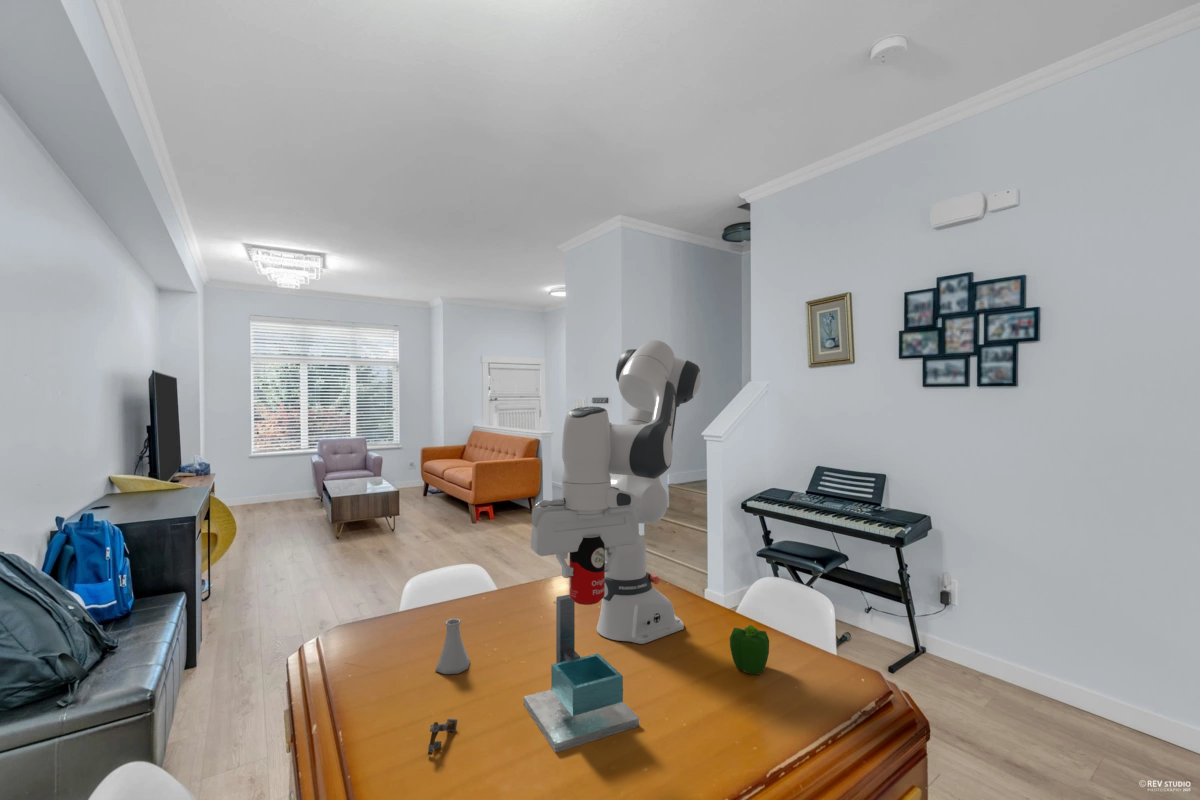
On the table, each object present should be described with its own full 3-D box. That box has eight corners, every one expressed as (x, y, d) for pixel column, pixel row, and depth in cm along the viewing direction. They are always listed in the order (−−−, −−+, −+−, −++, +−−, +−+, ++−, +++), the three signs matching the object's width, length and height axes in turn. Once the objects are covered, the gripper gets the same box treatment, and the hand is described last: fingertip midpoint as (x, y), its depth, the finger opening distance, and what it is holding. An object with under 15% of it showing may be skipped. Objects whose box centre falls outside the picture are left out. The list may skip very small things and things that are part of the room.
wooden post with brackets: (421, 755, 85) (427, 722, 87) (443, 747, 92) (448, 717, 94) (431, 756, 85) (437, 723, 87) (452, 748, 92) (457, 718, 94)
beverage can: (569, 607, 92) (570, 537, 92) (569, 594, 98) (569, 529, 98) (606, 606, 92) (606, 537, 93) (603, 593, 99) (603, 528, 99)
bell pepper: (731, 657, 120) (731, 613, 120) (769, 663, 117) (769, 617, 117) (727, 675, 112) (727, 627, 112) (768, 681, 109) (768, 632, 110)
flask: (460, 677, 111) (460, 629, 112) (429, 673, 113) (429, 626, 113) (475, 661, 118) (475, 616, 119) (446, 658, 120) (446, 613, 120)
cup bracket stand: (598, 684, 108) (598, 588, 109) (639, 726, 94) (638, 615, 94) (523, 704, 101) (523, 601, 101) (555, 752, 87) (555, 632, 87)
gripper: (538, 504, 88) (537, 588, 88) (643, 495, 97) (643, 571, 97) (525, 498, 94) (525, 577, 93) (626, 490, 103) (626, 562, 103)
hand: (586, 574), depth 95 cm, fingers closed on beverage can, 6 cm apart
